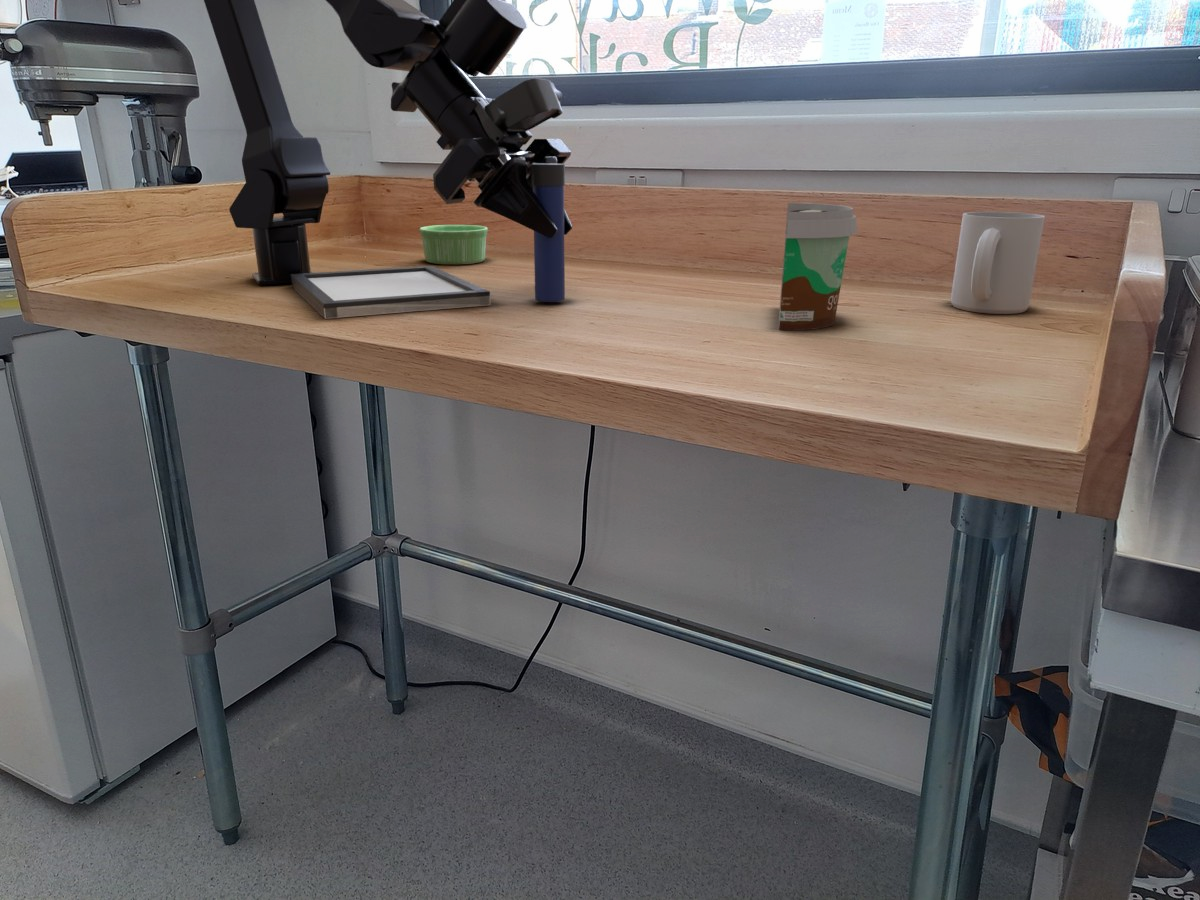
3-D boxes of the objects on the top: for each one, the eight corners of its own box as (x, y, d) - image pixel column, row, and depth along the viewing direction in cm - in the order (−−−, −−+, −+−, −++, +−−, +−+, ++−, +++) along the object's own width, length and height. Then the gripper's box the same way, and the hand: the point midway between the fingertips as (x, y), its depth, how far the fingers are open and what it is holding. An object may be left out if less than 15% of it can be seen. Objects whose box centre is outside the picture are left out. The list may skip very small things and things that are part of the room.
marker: (529, 297, 87) (526, 163, 83) (557, 295, 88) (556, 163, 84) (541, 302, 84) (539, 164, 80) (571, 300, 86) (570, 164, 81)
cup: (1035, 306, 86) (1051, 214, 83) (1013, 322, 78) (1031, 221, 75) (960, 298, 90) (973, 210, 87) (933, 313, 82) (946, 217, 79)
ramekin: (412, 264, 112) (409, 230, 110) (433, 256, 120) (432, 224, 119) (478, 266, 111) (477, 231, 109) (496, 257, 119) (494, 225, 118)
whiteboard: (292, 286, 95) (290, 274, 94) (432, 277, 102) (431, 265, 101) (325, 318, 78) (323, 303, 77) (490, 305, 85) (490, 291, 84)
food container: (853, 336, 72) (866, 213, 69) (778, 333, 73) (788, 212, 70) (843, 309, 83) (854, 203, 80) (779, 307, 85) (787, 202, 81)
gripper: (455, 36, 72) (574, 177, 72) (552, 55, 88) (650, 170, 88) (385, 135, 77) (495, 266, 77) (489, 136, 94) (580, 244, 93)
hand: (561, 233), depth 84 cm, fingers closed on marker, 3 cm apart
